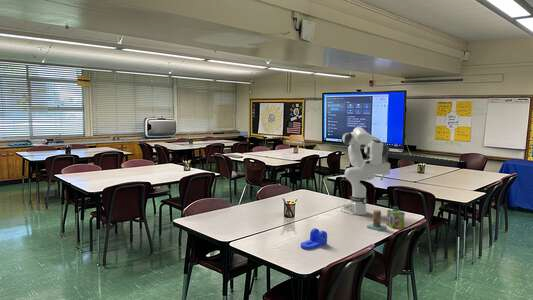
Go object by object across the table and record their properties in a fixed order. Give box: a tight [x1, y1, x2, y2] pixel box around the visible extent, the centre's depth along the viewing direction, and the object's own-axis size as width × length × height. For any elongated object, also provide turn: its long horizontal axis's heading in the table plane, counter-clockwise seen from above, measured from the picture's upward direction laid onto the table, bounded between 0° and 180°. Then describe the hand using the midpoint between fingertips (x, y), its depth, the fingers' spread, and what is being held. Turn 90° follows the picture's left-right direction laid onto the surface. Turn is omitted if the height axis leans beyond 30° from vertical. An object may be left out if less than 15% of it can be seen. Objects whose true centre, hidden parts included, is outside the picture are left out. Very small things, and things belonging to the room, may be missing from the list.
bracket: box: [300, 227, 328, 251], centre depth 220 cm, size 18×8×9 cm, turn 131°
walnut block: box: [372, 209, 382, 227], centre depth 257 cm, size 5×5×11 cm
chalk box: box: [386, 206, 405, 229], centre depth 261 cm, size 9×9×15 cm
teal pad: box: [366, 223, 387, 232], centre depth 257 cm, size 10×10×2 cm
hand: (375, 179), depth 264 cm, fingers open, 8 cm apart
